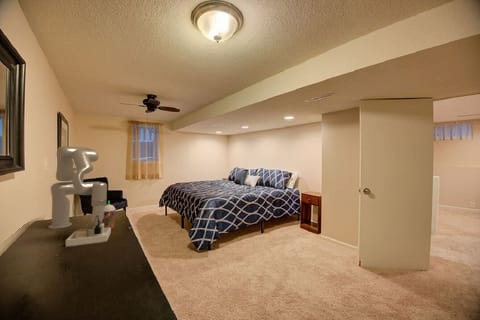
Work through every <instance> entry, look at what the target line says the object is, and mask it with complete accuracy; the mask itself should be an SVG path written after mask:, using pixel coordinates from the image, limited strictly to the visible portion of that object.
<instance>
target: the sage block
mask: <svg viewBox="0 0 480 320" xmlns="http://www.w3.org/2000/svg"><path fill="white" fill-rule="evenodd" d="M94 227H95V223H93V226H92V229H93V235H97V234H94ZM100 227H101V233H100V234H103V232H104V223H102V224H100Z"/></svg>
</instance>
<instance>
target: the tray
mask: <svg viewBox="0 0 480 320" xmlns="http://www.w3.org/2000/svg"><path fill="white" fill-rule="evenodd" d="M77 231H78V230H75V231H74V232H72V234H70V236H69V237H67V239H65V247H67V248H68V247H74V246H82V245H90V244H98V243H104V242H107V241H108V240H109V237H110V235H111V233H112V230H111V228H104V232H103V234H97V235H93V228H92V229H89V231H88V237H86V238H77V239H76V232H77Z"/></svg>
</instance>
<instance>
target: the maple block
mask: <svg viewBox="0 0 480 320" xmlns="http://www.w3.org/2000/svg"><path fill="white" fill-rule="evenodd" d="M89 230H90V229H89V228H80V229H78V230H76V231H77V232H76V239H77V238H86V237H88V231H89Z"/></svg>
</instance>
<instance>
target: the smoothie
mask: <svg viewBox="0 0 480 320" xmlns="http://www.w3.org/2000/svg"><path fill="white" fill-rule="evenodd" d="M107 202H108V203H107V204H106V205H104V219H103V220H102V222H103V223H104V228H111V231H112V230H114V228H115V219H116V213H117V212H116V210H117V208H115V206H114V205H113V204H110V200H108V201H107Z"/></svg>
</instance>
